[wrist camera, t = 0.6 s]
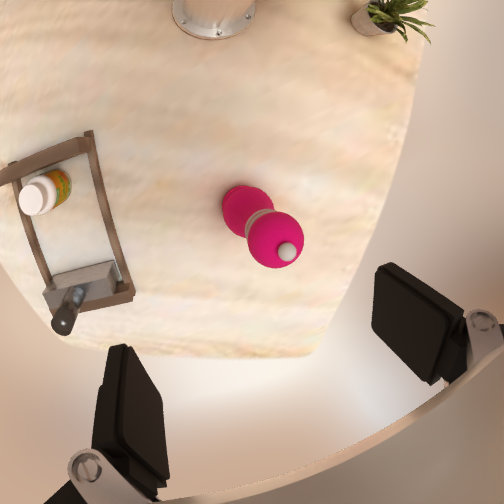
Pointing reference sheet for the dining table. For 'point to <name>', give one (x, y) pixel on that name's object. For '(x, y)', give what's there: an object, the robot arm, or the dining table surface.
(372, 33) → the house plant
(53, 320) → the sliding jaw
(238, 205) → the pepper mill
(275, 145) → the dining table surface
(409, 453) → the robot arm
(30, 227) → the vise frame
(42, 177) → the supplement bottle
